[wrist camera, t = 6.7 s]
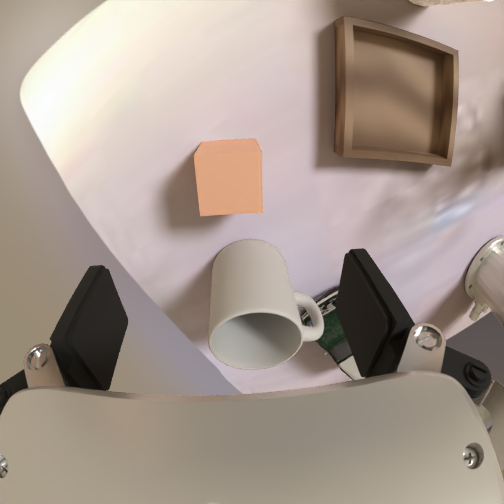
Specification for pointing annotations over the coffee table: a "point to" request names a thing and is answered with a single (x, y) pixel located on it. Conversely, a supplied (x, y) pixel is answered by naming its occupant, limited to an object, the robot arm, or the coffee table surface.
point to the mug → (257, 308)
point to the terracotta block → (229, 177)
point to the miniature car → (334, 337)
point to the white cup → (443, 2)
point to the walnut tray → (394, 94)
